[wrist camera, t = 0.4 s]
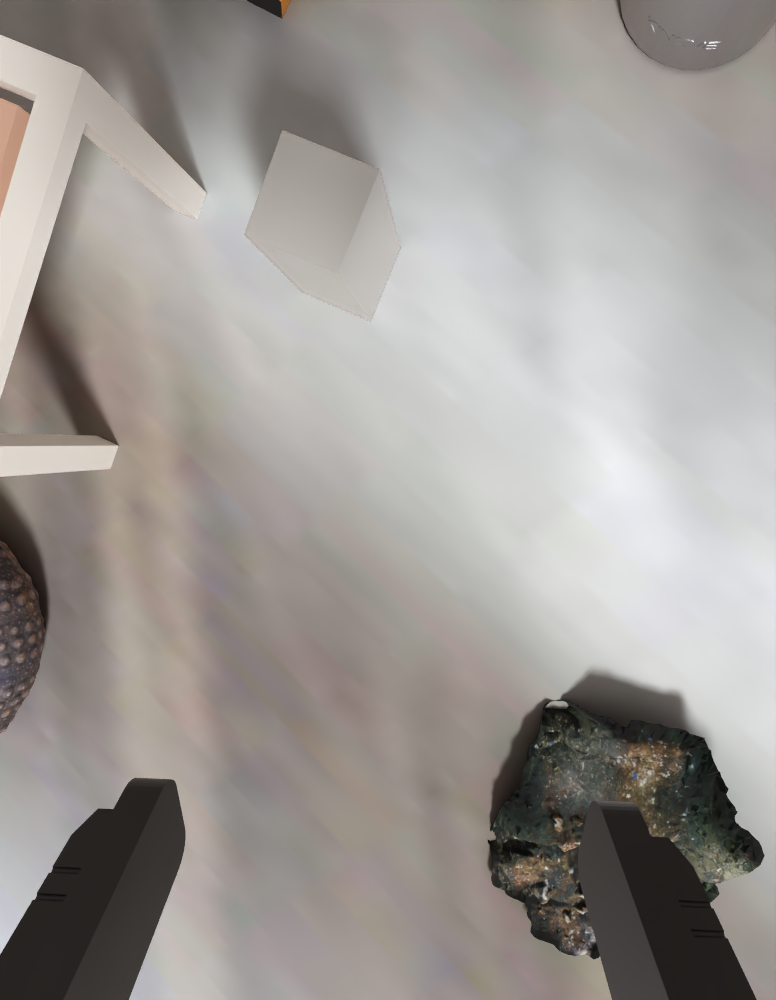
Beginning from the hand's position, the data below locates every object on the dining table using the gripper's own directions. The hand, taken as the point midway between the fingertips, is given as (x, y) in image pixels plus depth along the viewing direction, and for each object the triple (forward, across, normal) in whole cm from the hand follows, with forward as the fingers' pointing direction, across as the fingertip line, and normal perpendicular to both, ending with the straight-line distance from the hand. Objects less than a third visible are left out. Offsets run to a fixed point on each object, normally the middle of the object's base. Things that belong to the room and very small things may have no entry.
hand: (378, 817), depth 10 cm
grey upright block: (+31, +4, -10) cm, 33 cm away
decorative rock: (+19, -15, +26) cm, 35 cm away
